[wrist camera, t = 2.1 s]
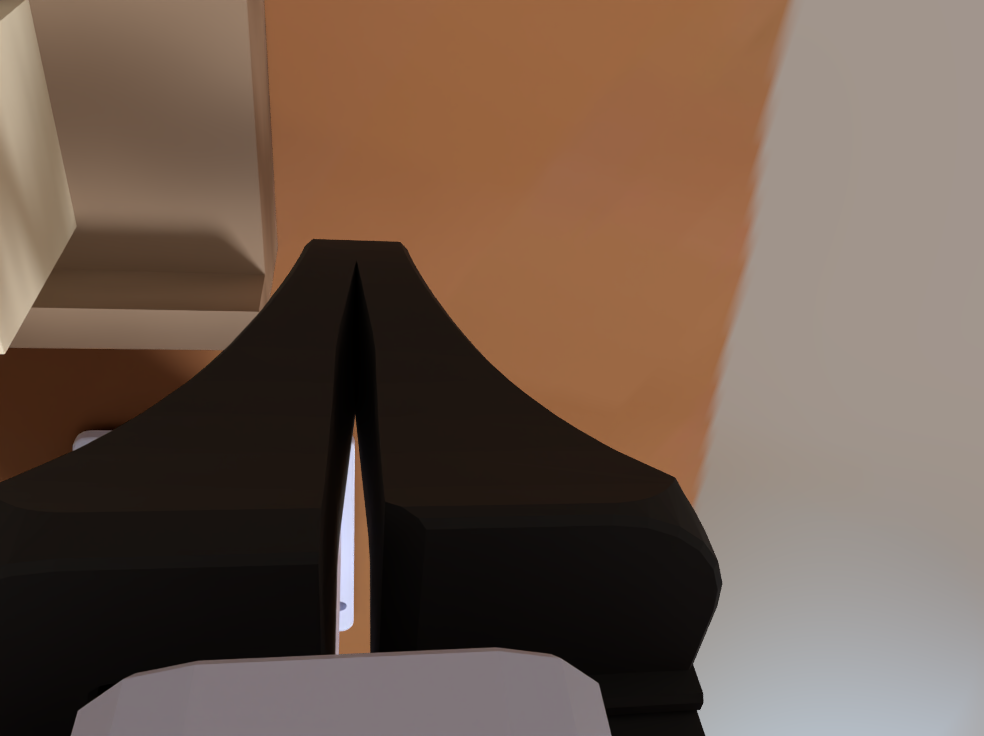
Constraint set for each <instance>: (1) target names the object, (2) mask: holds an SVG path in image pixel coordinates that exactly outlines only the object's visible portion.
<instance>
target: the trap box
mask: <svg viewBox="0 0 984 736" xmlns="http://www.w3.org/2000/svg"><path fill="white" fill-rule="evenodd" d="M29 4H30V9H31V14H32V18H33V23H34V28H35V33H36V37H37V42H38V47H39V51H40V56H41V61H42V66H43V70H44V75H45V80H46V84H47V89H48V94H49V98H50V103H51V108H52V113H53V117H54V122H55V127H56V131H57V136H58V141H59V146H60V150H61V155H62V160H63V164H64V169H65V174H66V178H67V183H68V188H69V193H70V197H71V202H72V207H73V211H74V216H75V221H76V225H77V227H76V229H75V230H74V232H73V234H72V236H71V238H70V239H69V241H68V243H67V245H66V246H65V248H64V250H63V252H62V254H61V255H60V257H59V259H58V261H57V262H56V264H55V266H54V268H53V269H52V271H51V273H50V275H49V277H48V278H47V280H46V282H45V284H44V285H43V287H42V289H41V291H40V293H39V294H38V296H37V298H36V300H35V301H34V303H33V305H32V307H31V309H30V310H29V312H28V314H27V316H26V317H25V319H24V321H23V323H22V325H21V326H20V328H19V330H18V332H17V333H16V335H15V337H14V339H13V341H12V342H11V344H10V346H9V348H77V349H168V350H224V349H226V348H227V347H228V346H229V345H230V344H231V343H232V342H233V341H234V339H235V338H236V337H237V336H238V335H239V334H240V333H241V332H242V331H243V330H244V329H245V328H246V326H247V325H248V324H249V323H250V322H251V321H252V320H253V319H254V318H255V317H256V316H257V314H258V313H259V312H260V311H261V310H262V309H263V307H264V306H265V305H266V303H267V302H268V301H269V300H270V294H271V288H272V281H273V275H274V269H275V262H276V256H277V250H278V243H277V225H276V207H275V189H274V171H273V153H272V134H271V116H270V98H269V80H268V62H267V44H266V26H265V8H264V0H29Z"/></svg>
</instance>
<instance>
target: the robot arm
mask: <svg viewBox="0 0 984 736" xmlns="http://www.w3.org/2000/svg"><path fill="white" fill-rule="evenodd" d="M355 416H356V425H357V435H358V444H359V453H360V463H361V472H362V481H363V490H364V499H365V508H366V518H367V527H368V536H369V553H370V653H359V654H339V631H345V630H347V629H349V628H350V627H351V626H352V625H353V615H354V486H355V440H354V437H353V428H354V420H355ZM721 587H722V579H721V574H720V569H719V564H718V560H717V558H716V555H715V553H714V551H713V549H712V546H711V544H710V541H709V539H708V536H707V534H706V532H705V530H704V528H703V526H702V524H701V522H700V520H699V518H698V516H697V514H696V513H695V511H694V509H693V507H692V506H691V504H690V502H689V501H688V499H687V498H686V496H685V494H684V493H683V491H682V489H681V487H680V486H679V484H678V482H677V480H676V478H675V477H673V476H671V475H668V474H666V473H664V472H662V471H660V470H657V469H655V468H653V467H651V466H649V465H647V464H644V463H642V462H640V461H638V460H636V459H633V458H631V457H629V456H627V455H625V454H623V453H620V452H618V451H616V450H614V449H612V448H610V447H608V446H607V445H605V444H603V443H601V442H599V441H598V440H596V439H594V438H592V437H591V436H589V435H587V434H585V433H584V432H582V431H580V430H578V429H577V428H575V427H573V426H572V425H570V424H569V423H567V422H566V421H564V420H562V419H561V418H559V417H558V416H556V415H555V414H553V413H552V412H550V411H549V410H548V409H546V408H545V407H544V406H542V405H541V404H539V403H538V402H537V401H535V400H534V399H532V398H531V397H530V396H528V395H527V394H526V393H524V392H523V391H522V390H521V389H519V388H518V387H517V386H516V385H514V384H513V383H512V382H511V381H509V380H508V379H507V378H506V377H505V376H504V375H503V374H502V373H501V372H499V371H498V370H497V369H496V368H495V367H494V366H493V365H492V364H491V363H490V362H489V361H488V360H487V359H486V358H485V357H484V356H483V355H482V354H481V353H480V352H479V351H478V350H477V349H476V348H475V346H474V345H473V344H472V343H471V342H470V341H469V340H468V339H467V337H466V336H465V335H464V334H463V333H462V332H461V330H460V329H459V328H458V327H457V325H456V324H455V323H454V322H453V321H452V319H451V318H450V317H449V315H448V314H447V313H446V311H445V310H444V308H443V307H442V306H441V304H440V303H439V302H438V300H437V299H436V298H435V296H434V295H433V293H432V292H431V290H430V289H429V287H428V286H427V284H426V283H425V281H424V279H423V278H422V276H421V275H420V273H419V271H418V270H417V268H416V266H415V264H414V263H413V261H412V259H411V257H410V255H409V253H408V250H407V249H406V248H405V247H404V246H403V245H402V243H401V242H388V241H356V240H325V239H313V240H311V241H310V242H309V243H308V244H307V245H306V246H305V247H304V249H303V251H302V253H301V255H300V257H299V258H298V260H297V262H296V263H295V265H294V267H293V268H292V270H291V271H290V273H289V274H288V275H287V277H286V278H285V280H284V281H283V283H282V284H281V285H280V287H279V288H278V289H277V291H276V292H275V293H274V294H273V296H272V297H271V298H270V300H269V301H268V302H267V303H266V305H265V306H264V307H263V309H262V310H261V311H260V312H259V313H258V314H257V316H256V317H255V318H254V319H253V320H252V321H251V322H250V323H249V324H248V325H247V326H246V328H245V329H244V330H243V331H242V332H241V333H240V334H239V335H238V336H237V337H236V338H235V339H234V341H233V342H232V343H231V344H230V345H229V346H228V347H227V348H226V349H224V350H223V351H222V352H221V353H220V354H219V355H218V356H217V357H216V358H215V359H214V360H213V361H212V362H211V363H209V364H208V365H207V366H206V367H205V368H204V369H202V370H201V371H200V372H199V373H198V374H197V375H195V376H194V377H193V378H192V379H191V380H189V381H188V382H187V383H185V384H184V385H183V386H181V387H180V388H178V389H177V390H175V391H174V392H172V393H171V394H169V395H168V396H167V397H165V398H164V399H162V400H161V401H159V402H158V403H156V404H155V405H153V406H152V407H151V408H149V409H148V410H146V411H145V412H143V413H141V414H140V415H138V416H137V417H135V418H133V419H131V420H130V421H128V422H126V423H125V424H123V425H121V426H119V427H118V428H116V429H114V430H90V431H84V432H82V433H80V434H78V436H77V437H76V439H75V441H74V444H73V451H72V452H70V453H68V454H66V455H63V456H61V457H59V458H56V459H54V460H52V461H49V462H47V463H45V464H42V465H40V466H38V467H36V468H33V469H31V470H29V471H26V472H24V473H22V474H19V475H17V476H15V477H12V478H10V479H8V480H5V481H3V482H0V736H705V734H704V731H703V728H702V725H701V722H700V719H699V716H698V713H697V710H700V709H701V707H702V705H703V692H702V689H701V686H700V683H699V680H698V677H697V675H696V672H695V669H694V666H693V663H694V660H695V658H696V656H697V653H698V651H699V648H700V646H701V644H702V641H703V639H704V636H705V634H706V632H707V629H708V627H709V625H710V622H711V620H712V617H713V615H714V612H715V610H716V608H717V605H718V600H719V596H720V591H721Z"/></svg>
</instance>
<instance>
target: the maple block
mask: <svg viewBox="0 0 984 736" xmlns="http://www.w3.org/2000/svg"><path fill="white" fill-rule="evenodd" d="M76 227H77V225H76V221H75V216H74V211H73V207H72V202H71V197H70V193H69V188H68V183H67V178H66V174H65V169H64V164H63V160H62V155H61V150H60V146H59V141H58V136H57V131H56V127H55V122H54V117H53V113H52V108H51V103H50V98H49V94H48V89H47V84H46V80H45V75H44V70H43V66H42V61H41V56H40V51H39V47H38V42H37V37H36V33H35V28H34V23H33V18H32V14H31V9H30V4H29V0H0V354H5V353H6V351H7V349H8V348H9V346H10V344H11V342H12V341H13V339H14V337H15V335H16V333H17V332H18V330H19V328H20V326H21V325H22V323H23V321H24V319H25V317H26V316H27V314H28V312H29V310H30V309H31V307H32V305H33V303H34V301H35V300H36V298H37V296H38V294H39V293H40V291H41V289H42V287H43V285H44V284H45V282H46V280H47V278H48V277H49V275H50V273H51V271H52V269H53V268H54V266H55V264H56V262H57V261H58V259H59V257H60V255H61V254H62V252H63V250H64V248H65V246H66V245H67V243H68V241H69V239H70V238H71V236H72V234H73V232H74V230H75V229H76Z"/></svg>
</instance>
